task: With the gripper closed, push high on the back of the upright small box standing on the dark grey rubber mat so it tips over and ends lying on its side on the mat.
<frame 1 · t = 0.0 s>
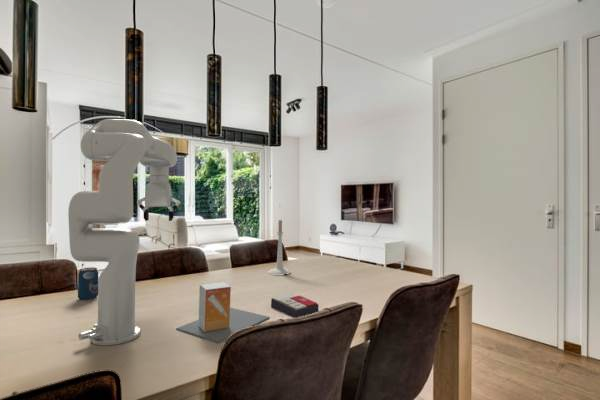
hand: (158, 220, 142), 31 cm above the table, tool pointing down, fingers open, 9 cm apart
flat red grey box: (294, 310, 125), on the table
small box: (213, 327, 105), resting on mat
candlestick: (279, 273, 187), on the table
mat: (225, 323, 109), on the table
soda can: (88, 299, 134), on the table
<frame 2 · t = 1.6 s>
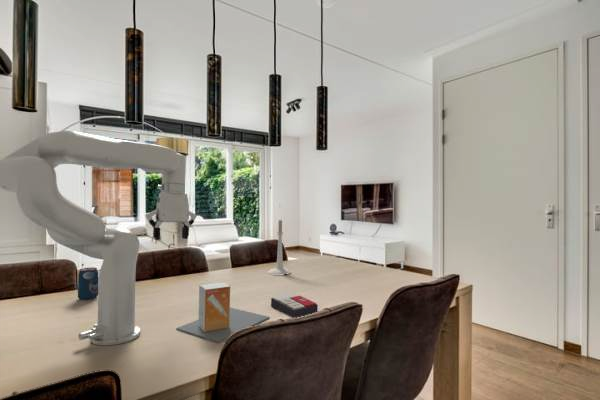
hand: (171, 239, 115), 27 cm above the table, tool pointing down, fingers open, 9 cm apart
nothing on the table moved.
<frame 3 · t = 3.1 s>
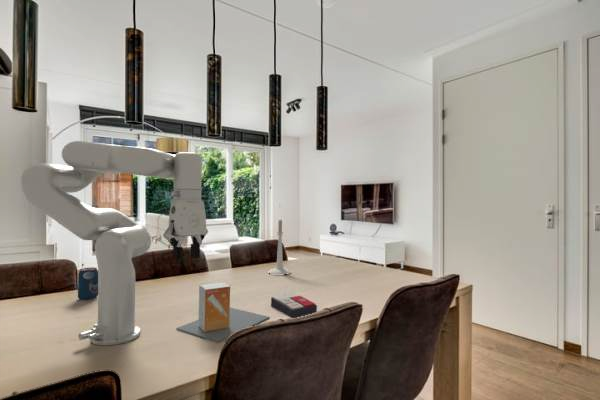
hand: (186, 258, 96), 23 cm above the table, tool pointing down, fingers open, 5 cm apart
nothing on the table moved.
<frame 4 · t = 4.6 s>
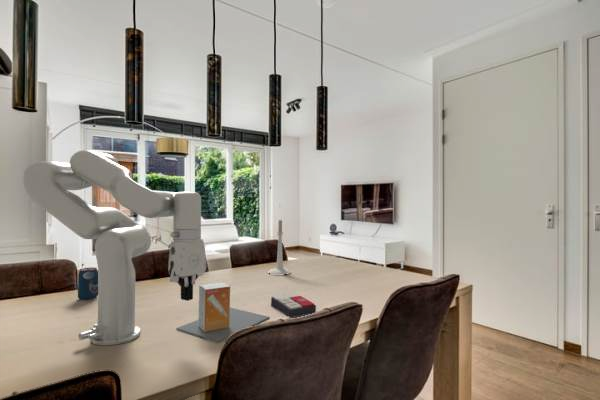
hand: (186, 299, 95), 12 cm above the table, tool pointing down, fingers closed
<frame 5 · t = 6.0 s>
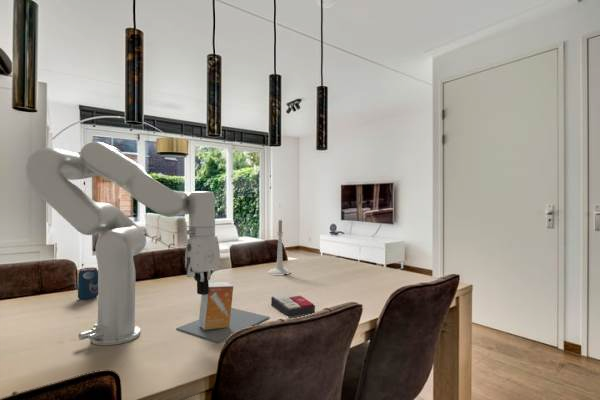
hand: (202, 293, 100), 12 cm above the table, tool pointing down, fingers closed
small box: (213, 326, 105), point 1 cm above the table, touching gripper, mat
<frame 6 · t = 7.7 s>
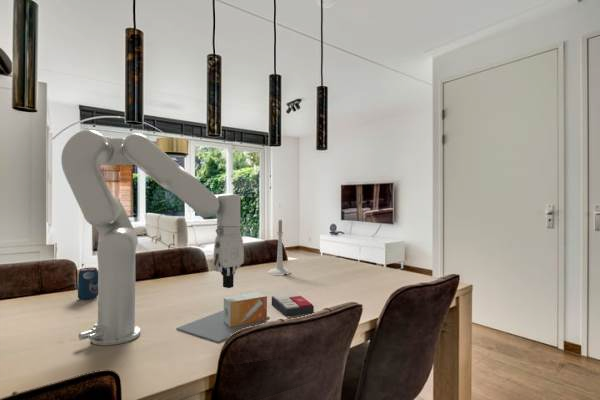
hand: (228, 287, 110), 12 cm above the table, tool pointing down, fingers closed
small box: (226, 312, 107), point 4 cm above the table, touching mat
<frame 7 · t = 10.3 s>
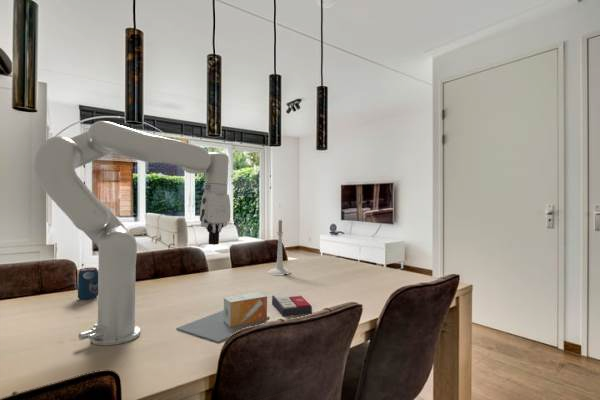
hand: (213, 244, 113), 26 cm above the table, tool pointing down, fingers closed
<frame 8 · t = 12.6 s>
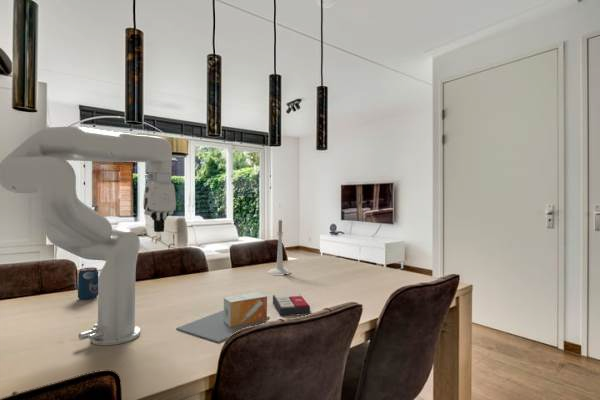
hand: (159, 231, 116), 29 cm above the table, tool pointing down, fingers closed
at the end: small box tilted 90°; small box inside the target area on the mat (3.4 cm from its centre), point 4.5 cm above the mat's base; the gripper is holding nothing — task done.
